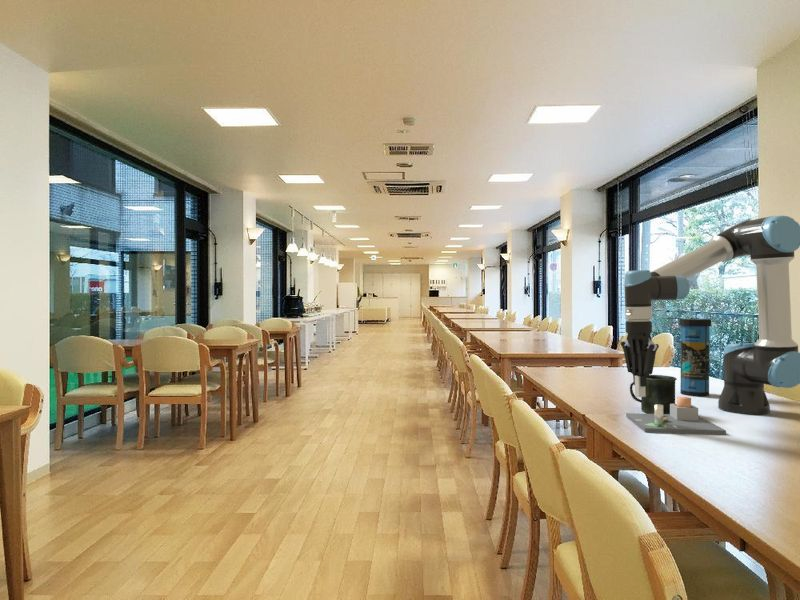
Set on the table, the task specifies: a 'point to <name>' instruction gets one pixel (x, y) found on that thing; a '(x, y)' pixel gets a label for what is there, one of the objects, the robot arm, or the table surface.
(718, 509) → the table surface
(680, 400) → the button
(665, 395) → the mug
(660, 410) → the brass ball-ended crank
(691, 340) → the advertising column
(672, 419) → the tuner board
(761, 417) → the table surface
